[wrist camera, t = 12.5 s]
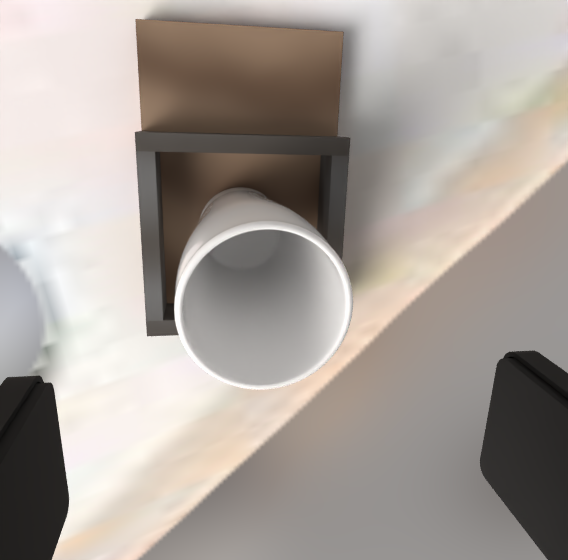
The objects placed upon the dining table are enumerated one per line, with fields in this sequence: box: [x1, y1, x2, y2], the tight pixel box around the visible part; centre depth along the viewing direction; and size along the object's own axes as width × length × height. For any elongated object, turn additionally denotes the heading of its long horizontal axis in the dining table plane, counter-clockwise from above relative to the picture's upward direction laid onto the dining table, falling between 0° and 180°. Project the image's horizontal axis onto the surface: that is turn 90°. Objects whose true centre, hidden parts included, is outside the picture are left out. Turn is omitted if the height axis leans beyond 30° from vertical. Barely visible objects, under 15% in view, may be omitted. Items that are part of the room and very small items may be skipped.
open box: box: [135, 19, 350, 336], centre depth 30 cm, size 18×12×4 cm, turn 178°
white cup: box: [174, 187, 353, 389], centre depth 25 cm, size 7×7×15 cm
